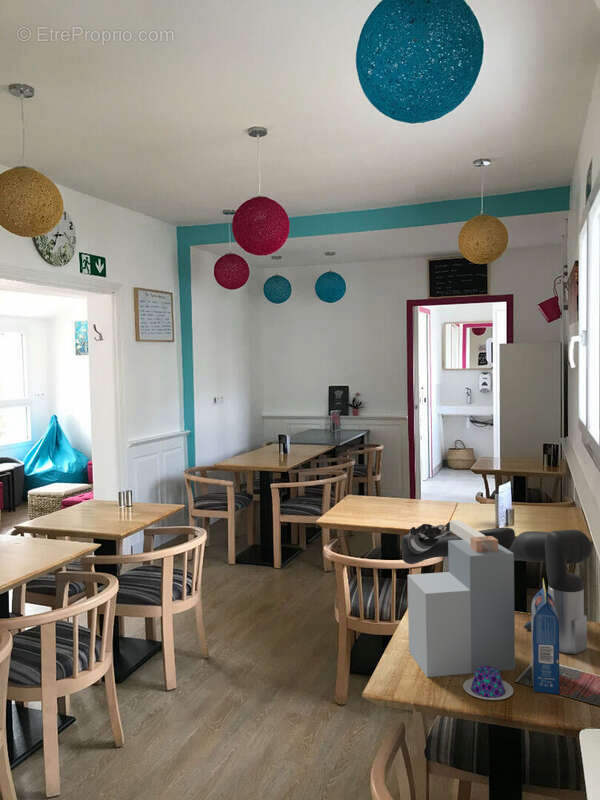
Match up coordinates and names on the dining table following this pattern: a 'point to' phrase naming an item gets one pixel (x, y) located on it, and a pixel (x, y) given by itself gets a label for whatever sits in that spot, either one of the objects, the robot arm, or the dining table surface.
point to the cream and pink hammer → (474, 537)
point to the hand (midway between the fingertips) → (438, 525)
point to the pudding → (488, 684)
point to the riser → (463, 613)
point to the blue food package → (545, 643)
